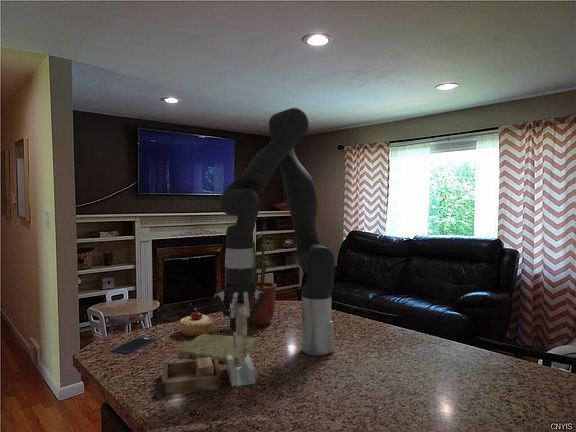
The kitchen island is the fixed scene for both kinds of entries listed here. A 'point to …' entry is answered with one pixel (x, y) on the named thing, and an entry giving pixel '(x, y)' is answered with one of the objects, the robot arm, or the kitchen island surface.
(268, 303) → the potted plant
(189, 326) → the pastry
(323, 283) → the robot arm
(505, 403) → the kitchen island surface
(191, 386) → the wooden tray
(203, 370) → the oak offcut upper
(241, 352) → the birch sheet
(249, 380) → the slot stand
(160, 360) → the kitchen island surface
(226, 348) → the decorative tile
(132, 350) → the cell phone
